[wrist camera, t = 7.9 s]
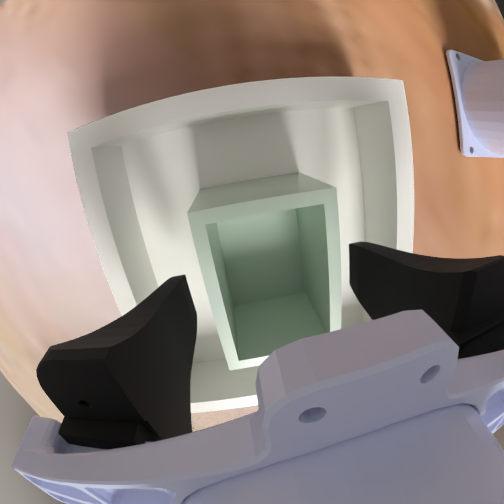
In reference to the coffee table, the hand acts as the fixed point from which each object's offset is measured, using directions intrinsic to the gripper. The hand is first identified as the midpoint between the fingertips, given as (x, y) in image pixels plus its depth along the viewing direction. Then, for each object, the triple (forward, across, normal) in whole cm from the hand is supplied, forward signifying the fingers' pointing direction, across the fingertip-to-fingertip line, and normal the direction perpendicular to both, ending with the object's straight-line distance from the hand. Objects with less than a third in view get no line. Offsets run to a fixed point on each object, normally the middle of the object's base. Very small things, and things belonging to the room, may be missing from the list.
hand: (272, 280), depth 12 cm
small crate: (+3, 0, 0) cm, 3 cm away
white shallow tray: (+4, 0, 0) cm, 4 cm away
